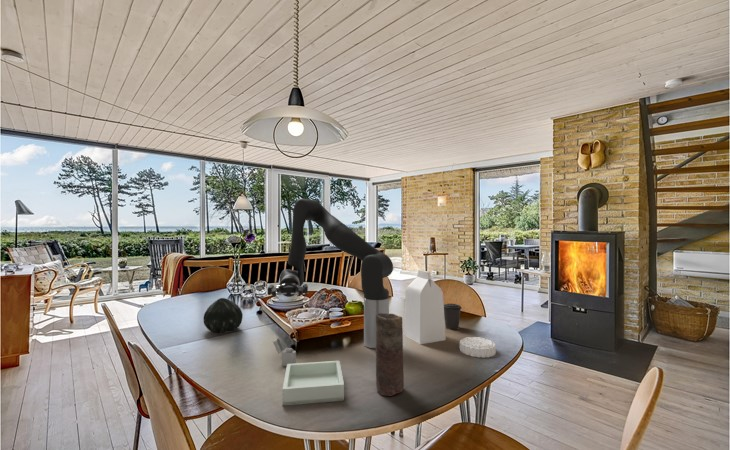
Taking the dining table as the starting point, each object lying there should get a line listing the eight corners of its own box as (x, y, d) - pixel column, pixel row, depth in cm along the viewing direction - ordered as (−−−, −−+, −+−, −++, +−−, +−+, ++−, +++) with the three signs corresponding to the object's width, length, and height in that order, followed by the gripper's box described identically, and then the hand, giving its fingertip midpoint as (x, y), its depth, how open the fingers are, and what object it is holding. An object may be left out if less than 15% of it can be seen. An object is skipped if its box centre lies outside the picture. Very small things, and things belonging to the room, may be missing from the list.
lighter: (296, 364, 105) (296, 339, 105) (293, 366, 103) (293, 341, 103) (275, 362, 106) (275, 337, 106) (272, 365, 104) (272, 339, 104)
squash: (234, 310, 151) (214, 289, 143) (254, 316, 142) (234, 294, 134) (211, 337, 143) (188, 316, 134) (231, 345, 134) (208, 324, 126)
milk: (403, 334, 134) (403, 270, 134) (427, 331, 138) (427, 268, 138) (419, 344, 123) (419, 273, 123) (445, 340, 127) (445, 272, 127)
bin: (339, 374, 98) (339, 360, 98) (344, 400, 83) (344, 384, 83) (287, 377, 95) (287, 363, 95) (282, 405, 81) (282, 389, 81)
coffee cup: (464, 330, 139) (464, 306, 139) (444, 330, 139) (444, 306, 139) (458, 324, 147) (458, 302, 147) (440, 324, 147) (440, 302, 147)
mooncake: (466, 343, 124) (466, 333, 124) (499, 350, 117) (499, 339, 118) (454, 353, 115) (454, 342, 115) (490, 361, 108) (490, 350, 108)
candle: (374, 383, 92) (374, 311, 92) (400, 382, 92) (400, 310, 93) (377, 397, 84) (377, 318, 84) (406, 396, 85) (406, 318, 85)
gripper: (271, 275, 130) (265, 283, 114) (308, 275, 133) (307, 282, 117) (271, 294, 130) (265, 305, 114) (307, 294, 133) (307, 303, 117)
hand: (287, 293), depth 115 cm, fingers open, 8 cm apart
